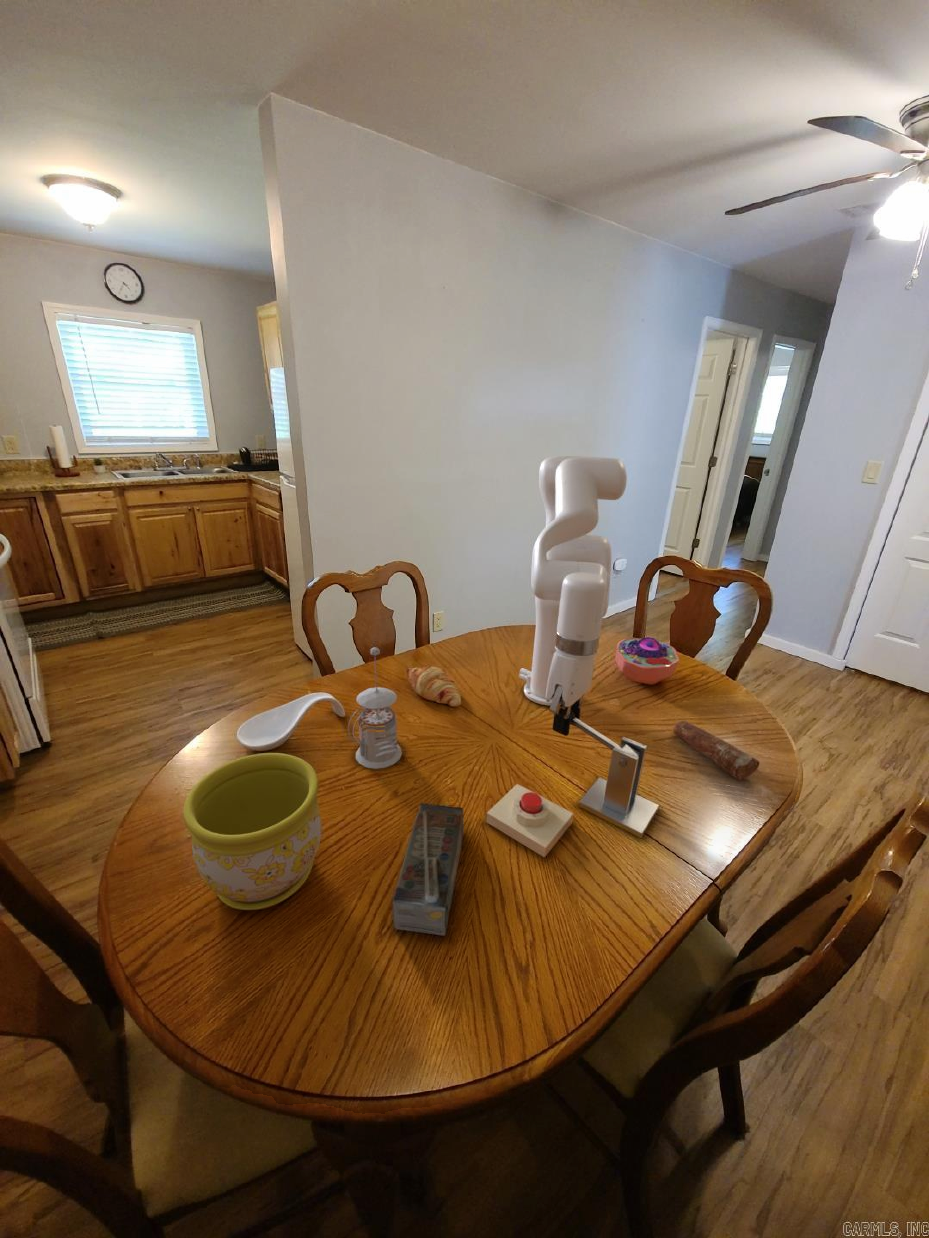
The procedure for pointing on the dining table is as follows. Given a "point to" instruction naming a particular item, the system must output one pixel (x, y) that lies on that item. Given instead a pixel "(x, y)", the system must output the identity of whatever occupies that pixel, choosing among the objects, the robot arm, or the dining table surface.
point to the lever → (599, 735)
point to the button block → (530, 821)
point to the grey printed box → (429, 870)
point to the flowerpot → (255, 828)
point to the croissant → (434, 685)
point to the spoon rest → (280, 722)
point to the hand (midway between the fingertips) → (565, 727)
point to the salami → (717, 750)
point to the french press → (377, 713)
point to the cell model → (646, 659)
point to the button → (531, 803)
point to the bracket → (622, 792)
